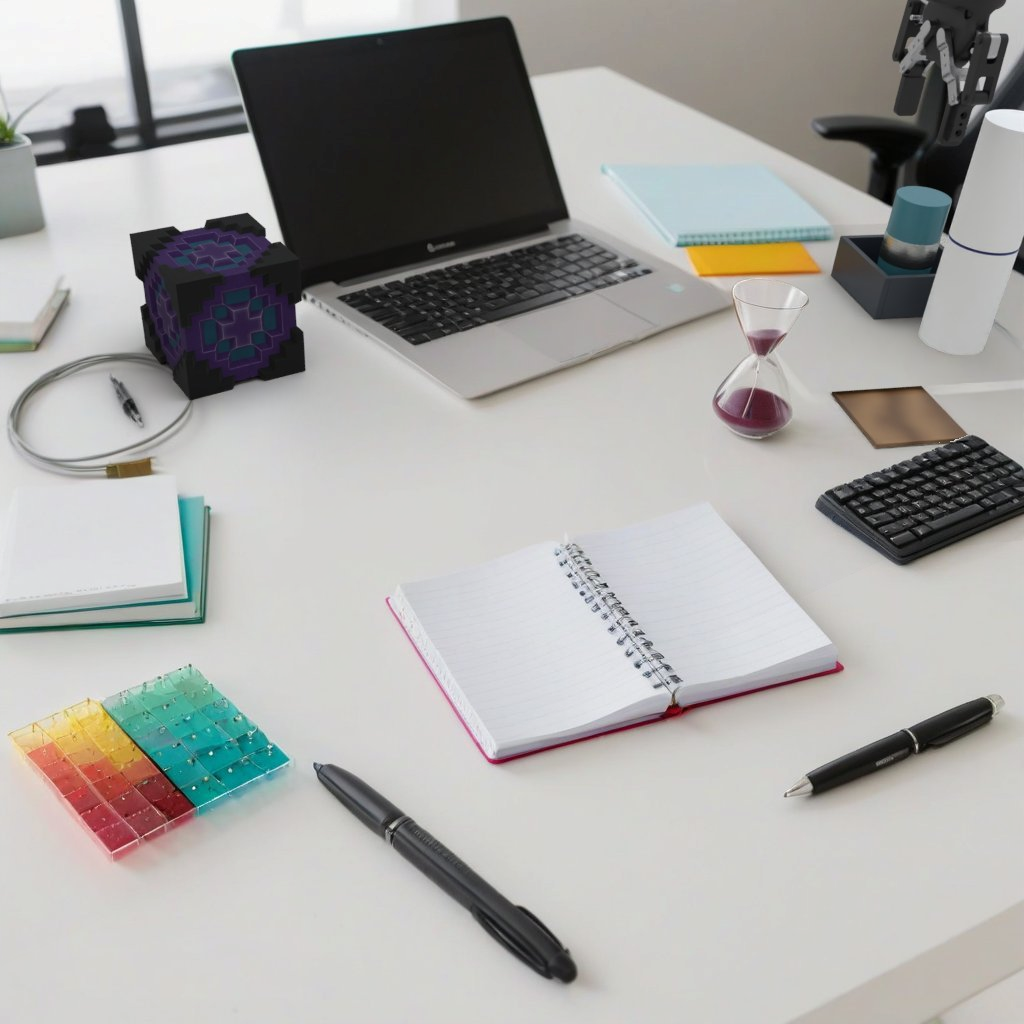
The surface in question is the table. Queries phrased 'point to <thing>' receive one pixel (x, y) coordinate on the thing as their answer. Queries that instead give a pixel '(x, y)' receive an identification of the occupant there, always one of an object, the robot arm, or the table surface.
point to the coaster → (899, 416)
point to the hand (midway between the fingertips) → (925, 129)
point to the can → (914, 231)
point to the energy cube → (219, 303)
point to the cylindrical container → (980, 240)
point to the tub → (880, 280)
